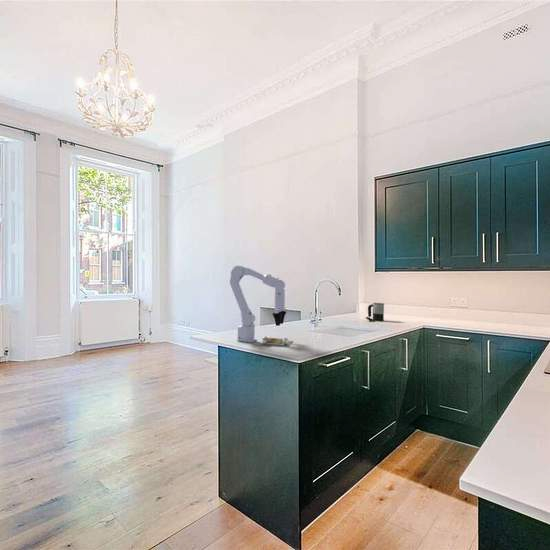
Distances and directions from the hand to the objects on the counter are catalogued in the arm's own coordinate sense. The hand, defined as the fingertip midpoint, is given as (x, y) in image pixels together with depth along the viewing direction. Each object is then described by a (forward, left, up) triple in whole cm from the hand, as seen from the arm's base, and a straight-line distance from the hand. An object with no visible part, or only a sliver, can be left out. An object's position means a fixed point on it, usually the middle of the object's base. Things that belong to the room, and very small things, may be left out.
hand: (279, 324), depth 204 cm
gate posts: (0, -11, -10) cm, 15 cm away
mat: (0, -5, -10) cm, 11 cm away
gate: (-1, -9, -9) cm, 13 cm away
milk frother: (+55, +111, -10) cm, 125 cm away
